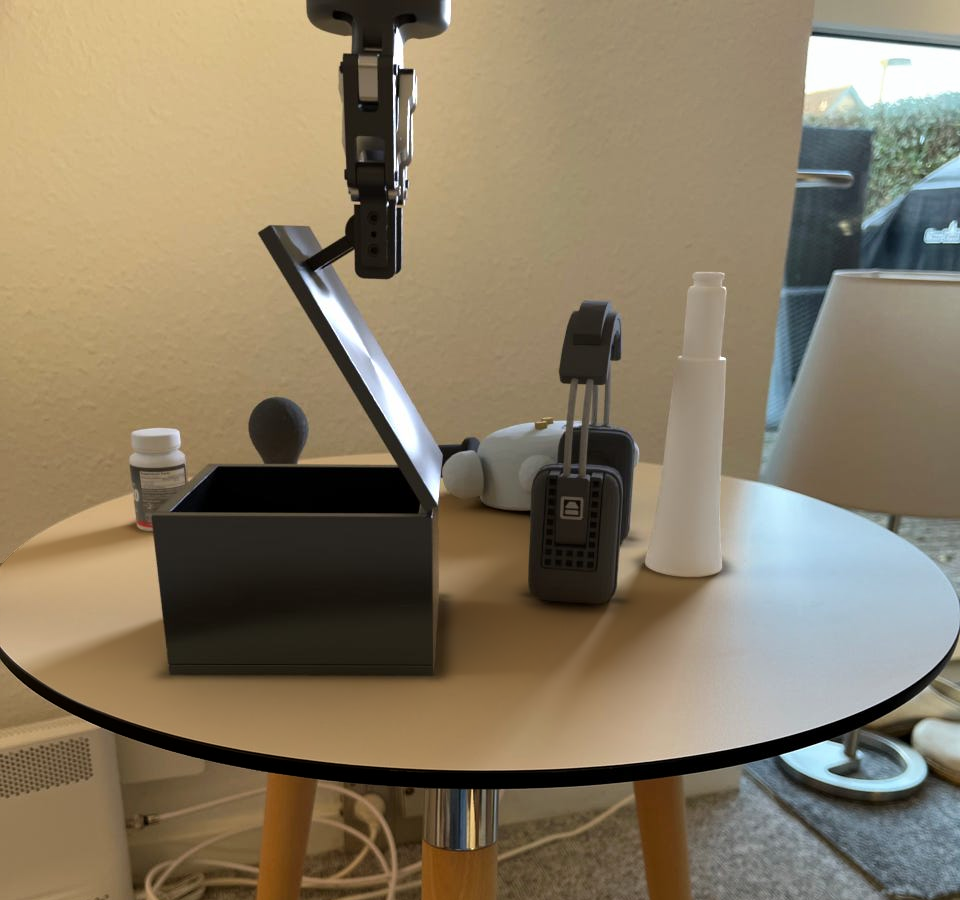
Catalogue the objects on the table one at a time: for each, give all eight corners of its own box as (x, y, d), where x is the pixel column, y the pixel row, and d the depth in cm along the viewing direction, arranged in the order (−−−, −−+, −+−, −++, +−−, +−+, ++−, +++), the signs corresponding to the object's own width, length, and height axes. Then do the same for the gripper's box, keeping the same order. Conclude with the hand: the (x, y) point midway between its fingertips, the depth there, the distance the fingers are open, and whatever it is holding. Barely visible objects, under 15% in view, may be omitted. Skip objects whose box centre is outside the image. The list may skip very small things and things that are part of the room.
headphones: (612, 617, 70) (631, 313, 62) (521, 610, 71) (529, 310, 64) (631, 531, 90) (647, 293, 83) (560, 526, 91) (569, 291, 84)
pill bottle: (142, 519, 92) (131, 426, 89) (196, 518, 93) (187, 426, 89) (132, 534, 88) (120, 437, 85) (188, 532, 88) (178, 436, 85)
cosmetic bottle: (718, 582, 77) (749, 274, 69) (639, 573, 79) (660, 273, 71) (725, 559, 83) (754, 271, 74) (650, 552, 84) (671, 270, 76)
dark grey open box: (169, 677, 60) (150, 515, 56) (220, 599, 73) (208, 463, 69) (433, 677, 60) (432, 517, 56) (439, 600, 73) (438, 464, 69)
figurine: (653, 486, 104) (473, 488, 111) (651, 402, 101) (465, 410, 108) (611, 529, 89) (405, 528, 96) (606, 431, 86) (394, 438, 93)
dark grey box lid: (257, 232, 51) (346, 175, 50) (298, 232, 64) (370, 186, 63) (426, 512, 56) (509, 466, 55) (433, 461, 69) (501, 422, 68)
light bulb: (253, 510, 96) (245, 402, 92) (253, 495, 101) (246, 393, 97) (314, 507, 97) (308, 400, 93) (310, 493, 102) (305, 391, 98)
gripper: (323, -45, 58) (329, 269, 65) (280, -127, 45) (294, 279, 51) (453, -40, 59) (447, 273, 65) (450, -119, 45) (442, 285, 52)
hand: (379, 274), depth 58 cm, fingers closed on dark grey box lid, 5 cm apart
